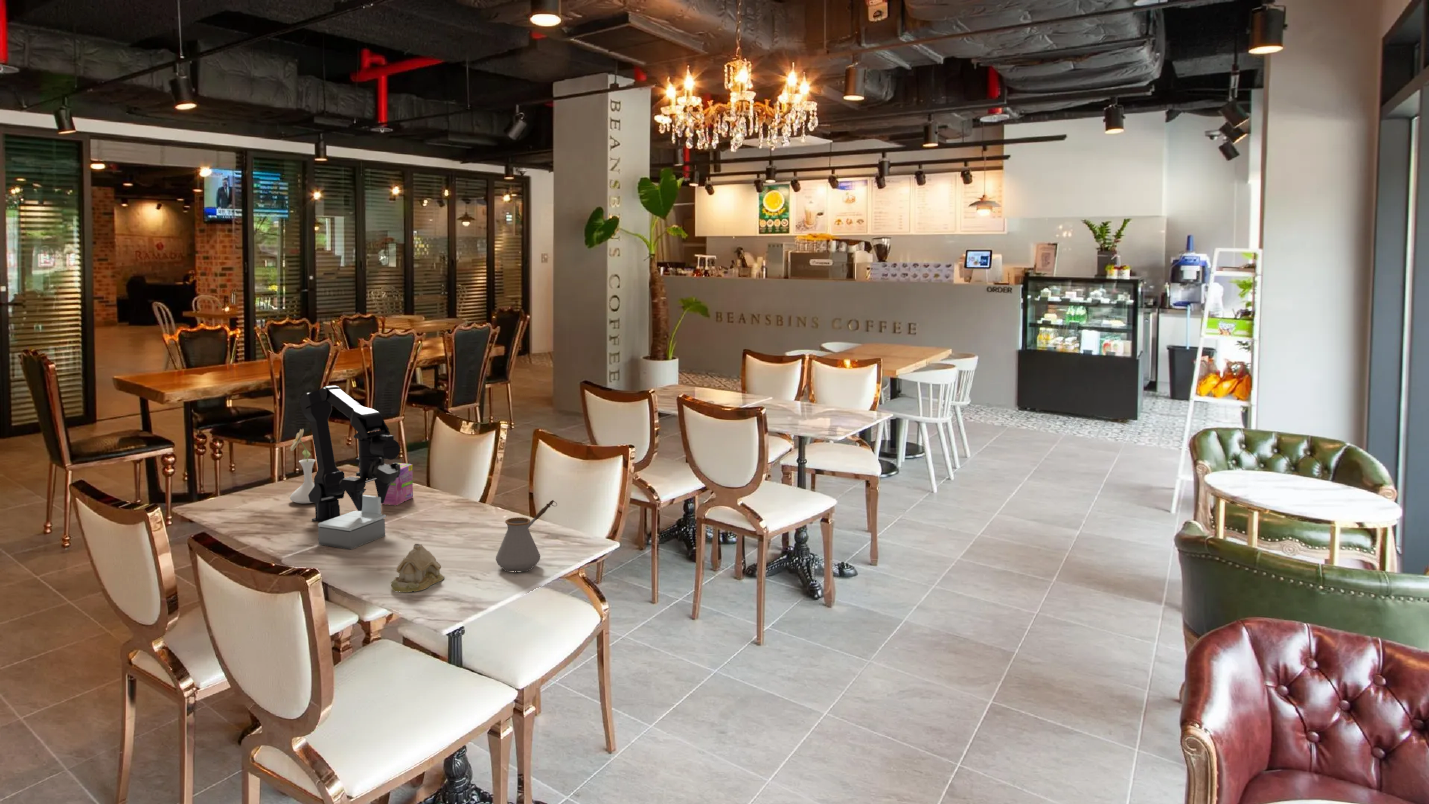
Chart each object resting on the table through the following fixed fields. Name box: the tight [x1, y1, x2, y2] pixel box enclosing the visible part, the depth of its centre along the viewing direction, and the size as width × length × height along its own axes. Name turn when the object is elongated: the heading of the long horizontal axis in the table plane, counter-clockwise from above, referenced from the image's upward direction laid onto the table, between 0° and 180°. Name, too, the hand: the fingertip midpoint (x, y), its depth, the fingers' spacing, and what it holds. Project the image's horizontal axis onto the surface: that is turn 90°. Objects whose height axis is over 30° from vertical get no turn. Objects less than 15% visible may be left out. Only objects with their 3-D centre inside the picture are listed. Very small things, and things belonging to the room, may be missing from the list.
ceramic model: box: [390, 543, 445, 593], centre depth 218 cm, size 14×11×10 cm
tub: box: [317, 518, 386, 550], centre depth 250 cm, size 11×14×5 cm
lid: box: [317, 494, 387, 531], centre depth 250 cm, size 11×16×6 cm
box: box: [381, 462, 414, 506], centre depth 291 cm, size 10×6×12 cm, turn 168°
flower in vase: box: [289, 428, 317, 504], centre depth 286 cm, size 13×11×25 cm
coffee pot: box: [495, 499, 558, 573], centre depth 234 cm, size 21×12×15 cm, turn 153°
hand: (371, 506), depth 257 cm, fingers open, 9 cm apart
